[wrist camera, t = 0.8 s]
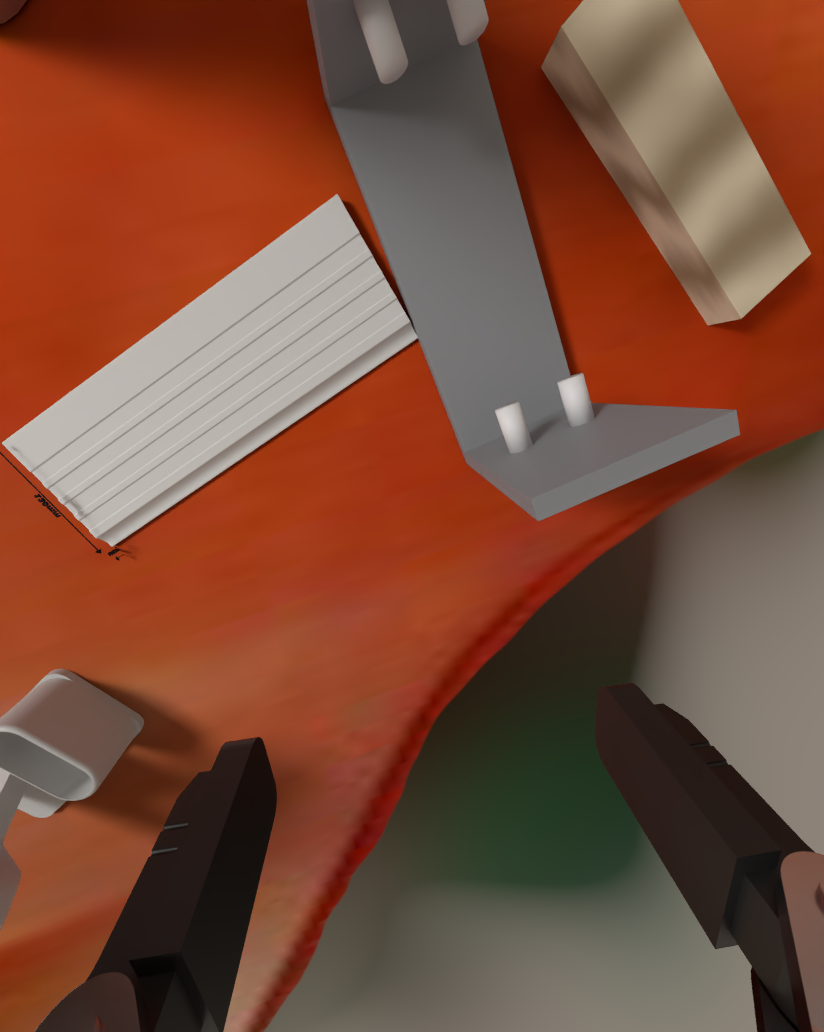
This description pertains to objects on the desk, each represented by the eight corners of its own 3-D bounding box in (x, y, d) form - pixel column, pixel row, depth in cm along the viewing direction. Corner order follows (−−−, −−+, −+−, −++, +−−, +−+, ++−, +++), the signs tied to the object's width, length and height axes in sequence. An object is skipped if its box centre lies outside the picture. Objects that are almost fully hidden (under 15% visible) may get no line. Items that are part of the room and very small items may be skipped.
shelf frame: (324, 97, 26) (244, -334, 10) (465, 27, 25) (597, -533, 10) (466, 463, 34) (538, 521, 18) (574, 415, 33) (739, 434, 18)
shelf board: (538, 72, 26) (561, 26, 23) (607, -9, 26) (641, -69, 22) (704, 326, 32) (741, 318, 29) (765, 268, 31) (811, 253, 28)
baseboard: (427, 356, 31) (339, 203, 28) (431, 352, 29) (335, 183, 25) (130, 556, 34) (18, 441, 31) (109, 570, 32) (-18, 445, 28)
